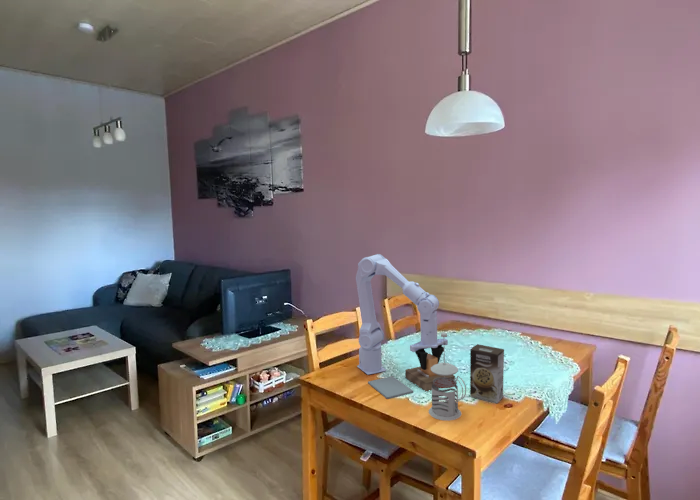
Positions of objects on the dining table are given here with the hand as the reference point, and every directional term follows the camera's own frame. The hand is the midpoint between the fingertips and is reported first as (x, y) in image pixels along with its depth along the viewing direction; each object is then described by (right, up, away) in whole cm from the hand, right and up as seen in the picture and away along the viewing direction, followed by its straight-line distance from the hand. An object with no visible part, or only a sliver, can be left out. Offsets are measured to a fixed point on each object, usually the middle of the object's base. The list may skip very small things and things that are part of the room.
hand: (429, 367), depth 155 cm
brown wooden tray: (0, -5, +1) cm, 5 cm away
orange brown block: (0, -5, +1) cm, 5 cm away
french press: (+1, -8, -23) cm, 24 cm away
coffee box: (+16, -6, -13) cm, 22 cm away
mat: (-14, -6, -4) cm, 16 cm away
